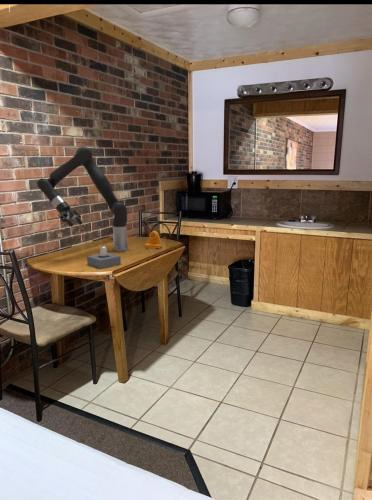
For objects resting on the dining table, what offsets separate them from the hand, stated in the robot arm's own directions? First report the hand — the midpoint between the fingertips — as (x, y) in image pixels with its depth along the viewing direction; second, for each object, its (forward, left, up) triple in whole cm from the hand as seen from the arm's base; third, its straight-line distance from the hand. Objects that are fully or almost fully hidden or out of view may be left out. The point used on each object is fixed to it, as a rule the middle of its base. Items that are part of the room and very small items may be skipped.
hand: (77, 224), depth 222 cm
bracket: (-58, +5, -23) cm, 62 cm away
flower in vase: (-61, -40, -23) cm, 76 cm away
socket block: (-6, +19, -23) cm, 30 cm away
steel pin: (-5, +19, -22) cm, 29 cm away
